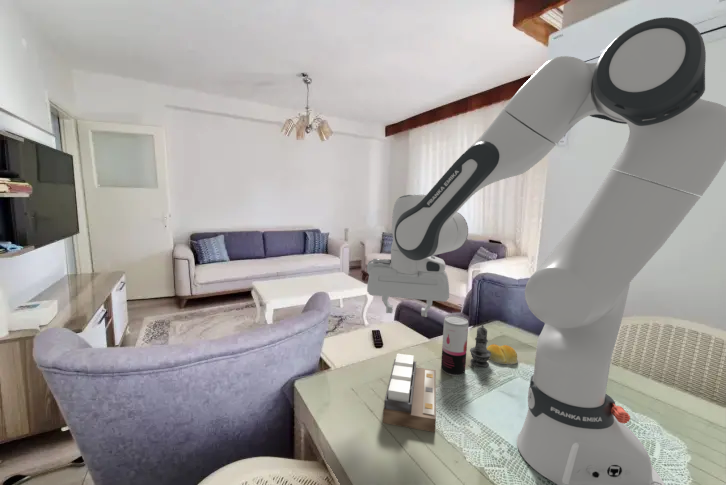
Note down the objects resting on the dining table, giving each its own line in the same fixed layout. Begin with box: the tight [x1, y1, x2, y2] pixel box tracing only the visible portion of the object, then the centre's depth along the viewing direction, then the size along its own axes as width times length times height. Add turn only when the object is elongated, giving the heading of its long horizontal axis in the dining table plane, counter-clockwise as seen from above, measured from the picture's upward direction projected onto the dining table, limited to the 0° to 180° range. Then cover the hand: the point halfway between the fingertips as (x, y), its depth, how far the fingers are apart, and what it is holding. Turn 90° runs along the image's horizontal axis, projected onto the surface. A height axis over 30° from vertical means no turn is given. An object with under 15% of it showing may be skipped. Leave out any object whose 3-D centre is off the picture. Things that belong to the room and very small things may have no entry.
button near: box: [388, 379, 410, 403], centre depth 69 cm, size 4×4×2 cm
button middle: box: [392, 365, 412, 386], centre depth 75 cm, size 4×4×2 cm
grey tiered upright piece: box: [469, 324, 491, 369], centre depth 91 cm, size 6×6×12 cm
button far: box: [395, 353, 415, 372], centre depth 81 cm, size 4×4×2 cm
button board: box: [382, 358, 437, 433], centre depth 75 cm, size 11×19×5 cm, turn 167°
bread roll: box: [486, 343, 519, 366], centre depth 95 cm, size 8×9×4 cm
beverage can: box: [440, 315, 469, 377], centre depth 87 cm, size 7×6×15 cm
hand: (406, 314), depth 79 cm, fingers open, 7 cm apart
